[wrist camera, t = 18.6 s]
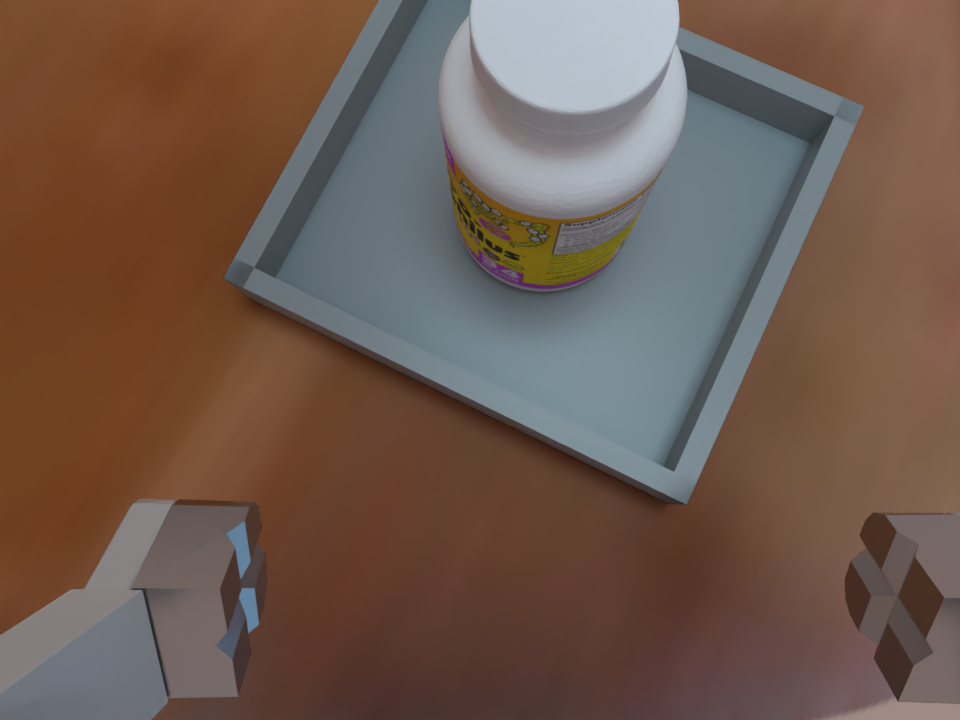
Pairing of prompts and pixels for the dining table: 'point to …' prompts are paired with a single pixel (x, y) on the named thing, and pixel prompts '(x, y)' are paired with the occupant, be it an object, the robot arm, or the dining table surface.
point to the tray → (564, 313)
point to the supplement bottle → (558, 130)
